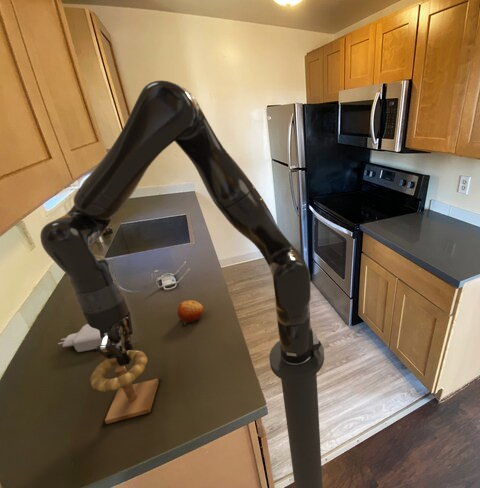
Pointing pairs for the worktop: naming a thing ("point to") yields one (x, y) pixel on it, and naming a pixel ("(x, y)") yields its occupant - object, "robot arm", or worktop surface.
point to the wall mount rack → (169, 279)
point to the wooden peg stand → (131, 399)
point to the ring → (119, 382)
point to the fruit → (190, 311)
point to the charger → (83, 339)
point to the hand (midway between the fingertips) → (127, 358)
